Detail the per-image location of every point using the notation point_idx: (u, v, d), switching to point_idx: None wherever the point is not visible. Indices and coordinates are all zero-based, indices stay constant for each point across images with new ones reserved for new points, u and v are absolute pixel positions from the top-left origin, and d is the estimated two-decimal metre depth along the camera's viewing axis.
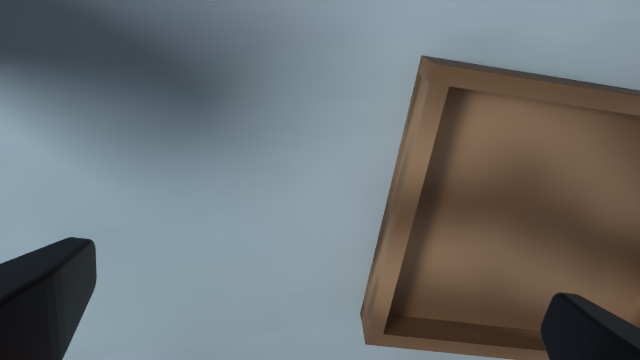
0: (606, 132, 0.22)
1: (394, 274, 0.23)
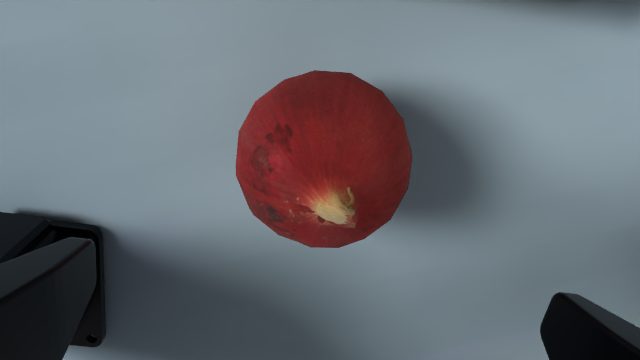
0: None
1: None
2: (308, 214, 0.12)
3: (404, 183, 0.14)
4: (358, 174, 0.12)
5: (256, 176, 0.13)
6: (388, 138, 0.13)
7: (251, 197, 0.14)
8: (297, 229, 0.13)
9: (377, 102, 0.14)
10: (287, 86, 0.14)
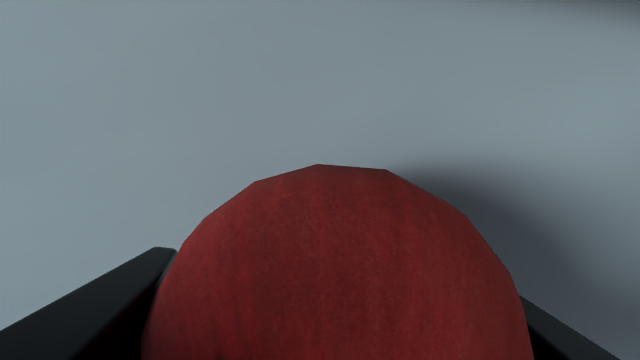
0: None
1: None
2: None
3: None
4: None
5: None
6: None
7: None
8: None
9: (472, 269, 0.06)
10: (251, 225, 0.06)
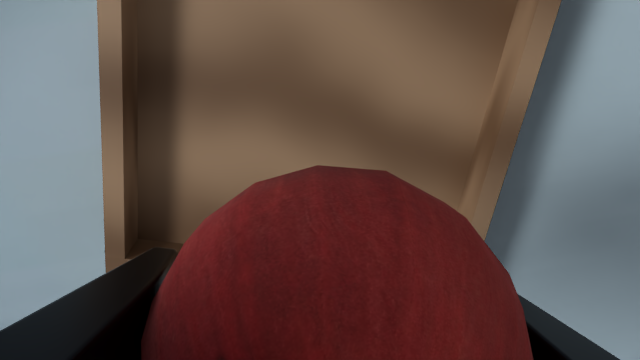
0: None
1: (117, 176, 0.18)
2: None
3: None
4: None
5: None
6: None
7: None
8: None
9: (471, 271, 0.06)
10: (252, 227, 0.06)
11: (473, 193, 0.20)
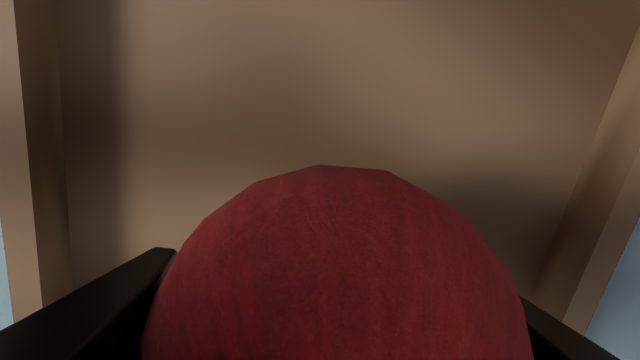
0: None
1: (30, 275, 0.12)
2: None
3: None
4: None
5: None
6: None
7: None
8: None
9: (471, 270, 0.06)
10: (252, 226, 0.06)
11: (558, 295, 0.13)
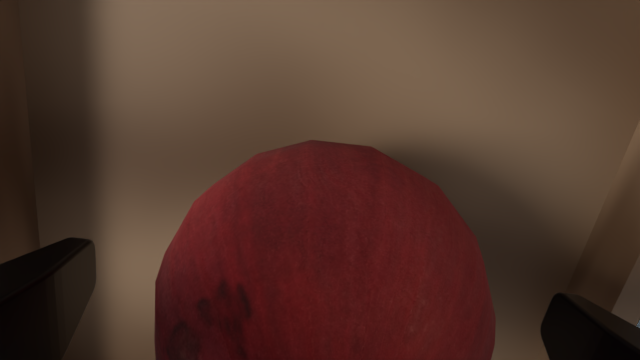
0: None
1: None
2: None
3: None
4: None
5: None
6: (462, 309, 0.06)
7: None
8: None
9: (436, 223, 0.07)
10: (253, 183, 0.07)
11: None
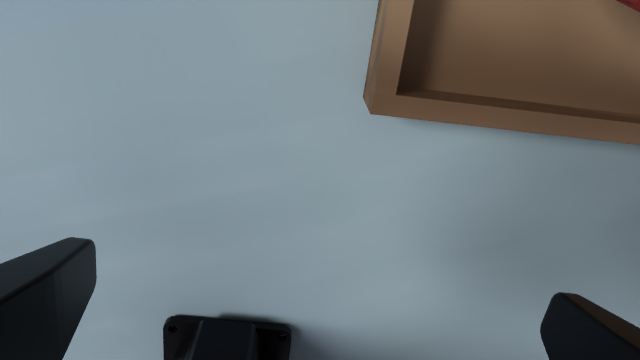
0: None
1: None
2: None
3: None
4: None
5: None
6: None
7: None
8: None
9: None
10: None
11: None
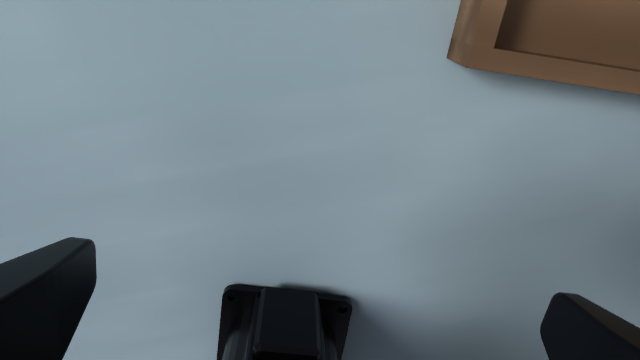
0: None
1: None
2: None
3: None
4: None
5: None
6: None
7: None
8: None
9: None
10: None
11: None
